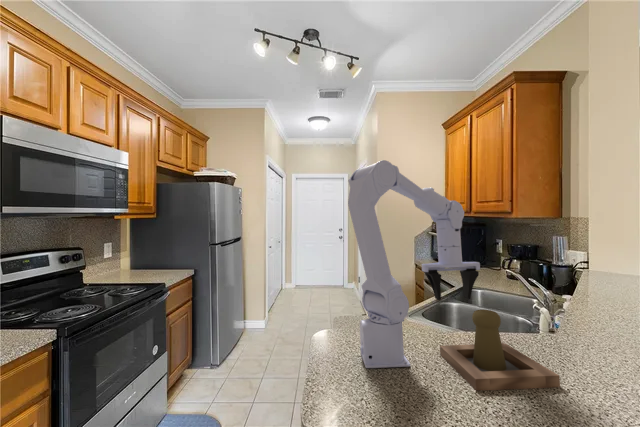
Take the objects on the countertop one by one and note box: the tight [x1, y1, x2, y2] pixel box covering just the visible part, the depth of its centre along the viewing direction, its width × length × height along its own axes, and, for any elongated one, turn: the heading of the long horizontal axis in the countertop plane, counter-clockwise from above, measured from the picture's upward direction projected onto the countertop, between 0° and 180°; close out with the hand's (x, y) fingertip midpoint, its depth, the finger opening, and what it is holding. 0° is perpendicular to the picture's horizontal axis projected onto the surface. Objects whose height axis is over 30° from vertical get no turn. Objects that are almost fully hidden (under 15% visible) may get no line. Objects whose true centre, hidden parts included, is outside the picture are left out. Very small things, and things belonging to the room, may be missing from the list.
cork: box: [471, 309, 507, 371], centre depth 60 cm, size 6×6×11 cm
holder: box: [439, 342, 561, 392], centre depth 59 cm, size 15×15×2 cm
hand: (452, 298), depth 75 cm, fingers open, 7 cm apart
